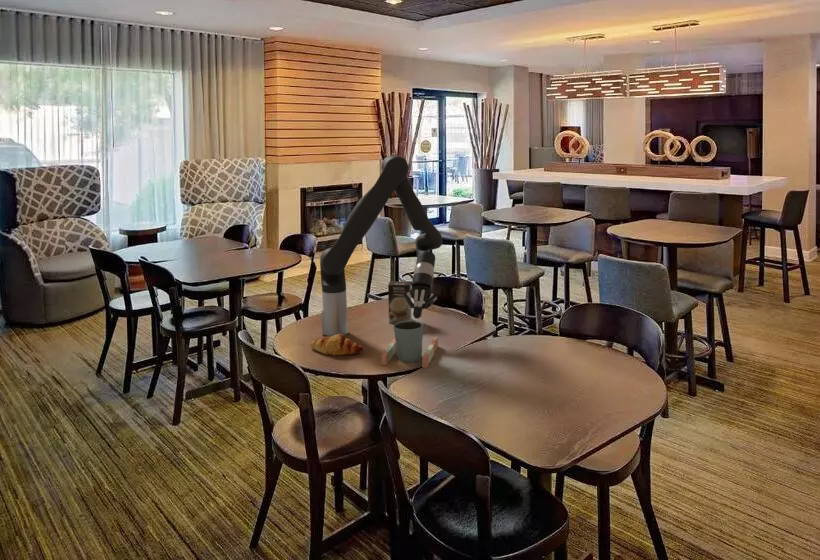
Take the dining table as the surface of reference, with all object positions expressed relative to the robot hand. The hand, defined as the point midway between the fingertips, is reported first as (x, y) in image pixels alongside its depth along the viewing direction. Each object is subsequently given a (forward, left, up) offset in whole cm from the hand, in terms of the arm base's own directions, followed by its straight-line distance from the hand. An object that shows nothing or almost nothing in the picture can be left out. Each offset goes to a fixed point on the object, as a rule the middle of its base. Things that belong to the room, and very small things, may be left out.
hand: (416, 317), depth 244 cm
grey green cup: (0, -14, -11) cm, 18 cm away
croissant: (-27, -11, -11) cm, 31 cm away
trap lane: (0, -12, -10) cm, 16 cm away
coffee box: (-13, +28, -11) cm, 33 cm away
